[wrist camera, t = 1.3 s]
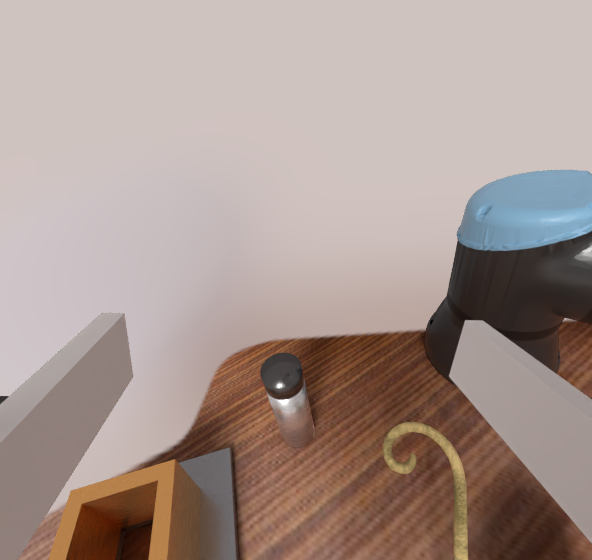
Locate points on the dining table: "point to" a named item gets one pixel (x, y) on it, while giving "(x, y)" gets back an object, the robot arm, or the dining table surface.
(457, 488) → the wall sconce
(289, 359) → the capped glass tube
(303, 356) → the dining table surface
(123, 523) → the yellow open box
